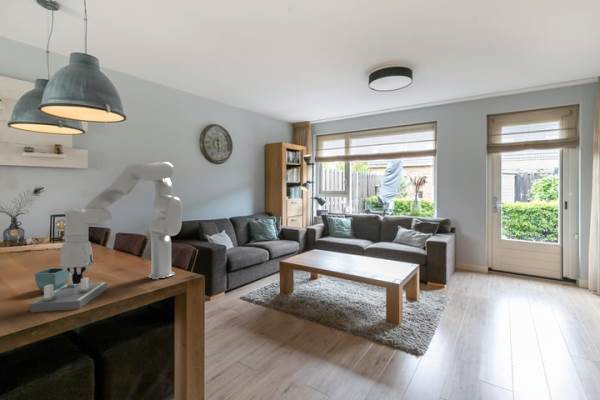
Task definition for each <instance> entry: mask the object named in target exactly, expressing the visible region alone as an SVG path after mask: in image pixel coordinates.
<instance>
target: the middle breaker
mask: <svg viewBox="0 0 600 400" xmlns="http://www.w3.org/2000/svg"><path fill="white" fill-rule="evenodd" d="M89 279H90V277H89V276H88V277H82V279H81V283H80V284H81V289H80V290H78V292H87V291H89V290H90V289H91V287H89V283H90V280H89Z"/></svg>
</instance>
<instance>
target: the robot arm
mask: <svg viewBox="0 0 600 400" xmlns="http://www.w3.org/2000/svg"><path fill="white" fill-rule="evenodd" d="M174 174H175V167H174V165H173V164H172V163H171V162H168V161H153V162H138V163H137V162H135V163H129V164H128V165H127V166H125V168H124V169H123V170H122V171H121V172H120V174H118V176H117V177H116V178H115V179H114V180H113V181H112V182H111V184H110V185H109V186H107V187H106V188H105V189H103V190H102V191H101V192H99V193H98V194H97V195H96V196H94V197H93V198H92V199H91V200H90V201H89V203H87V205H86V206H84V207H83V209H81V208H77V209H76V208H75V209H74V208H73V209H67V210H66V211H65V214H64V216H65V217H64V218H65V222H64V224H65V227H64V228H65V229H64V231H65V235H64V236H62V237H61V240H64V242H63V243H62V246H61V250H60V255H59V256H60V259H59V266H60V268H62V269H63V270H68V271H69V274H71V275H72V282H73V284H81V279H82V278H83V273H84V272H85V271H86V270H89V269H92V268H93V262H94V258H93V257H94V256H93V248H92V244H91V241H89V226H98V227H99V226H100V227H101V226H105V225H107V224H109V223H110V222H111V221H112V218H113V216H112V212H111V211H109V210H108V209H109V208H110V207H111V206H112V205H114V204H116V203H117V202H121V201H122V200H124V199H126V198H128V197H129V195H130V194H131V193H132V192H133V191H134V189H135V188H136V187H137V185H138V184H139V183H140V182H145V181H152V182H153V184H154V200H153V209H154V211H155V212H156V213H158V214H161V215H164V216H155V217H153V218H152V219H151V220H150V222H149V224H148V231H149V234H150V250H151V251H150V253H151V254H150V256H151V257H150V258H151V259H150V260H151V262H150V263H151V265H150V266H151V267H150V273H149V274H148V275H147V278H148V277H149V278H148V279H150V278H152V279H151V280H160V279H159V278H165V277H169V276H172V275H174V276H175V271H173V270H172V239H171V237H174V236H176V235H178V234H179V232H181V229H182V224H183V212H184V206H183V202H182V200H181V199H180V198H179V197H177V196H175V195H173V192H174V189H173V188H174V187H173V183H172V180H171V177H173V176H174ZM172 277H173V276H172ZM169 278H170V277H169ZM165 279H166V278H165Z"/></svg>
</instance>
